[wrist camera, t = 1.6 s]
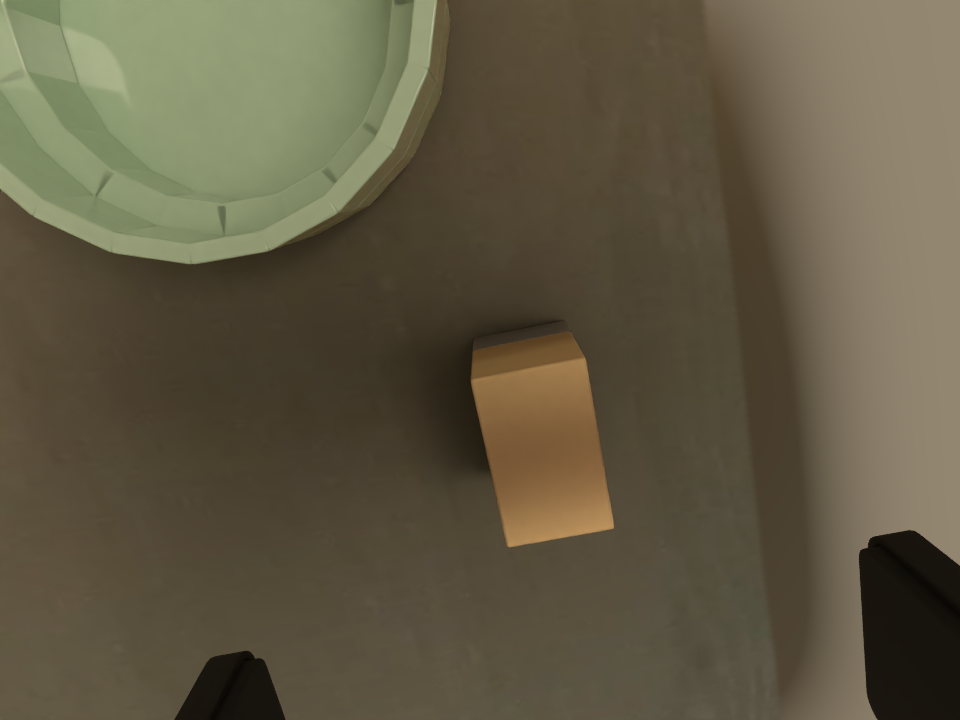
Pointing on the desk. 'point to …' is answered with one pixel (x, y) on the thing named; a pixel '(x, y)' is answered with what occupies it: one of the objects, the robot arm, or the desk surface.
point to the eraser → (540, 434)
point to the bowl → (212, 116)
